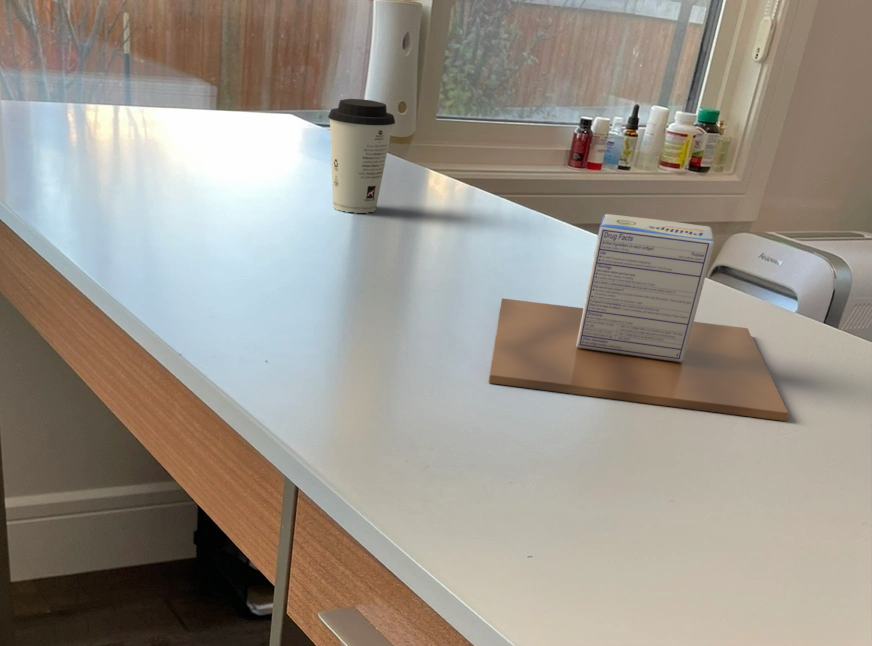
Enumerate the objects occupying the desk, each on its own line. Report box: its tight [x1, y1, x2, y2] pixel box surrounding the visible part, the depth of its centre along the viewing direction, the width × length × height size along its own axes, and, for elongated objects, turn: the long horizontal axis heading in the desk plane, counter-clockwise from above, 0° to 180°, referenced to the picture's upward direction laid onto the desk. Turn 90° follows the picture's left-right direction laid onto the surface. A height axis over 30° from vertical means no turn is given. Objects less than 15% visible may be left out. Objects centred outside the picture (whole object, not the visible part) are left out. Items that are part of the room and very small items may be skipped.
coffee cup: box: [327, 98, 396, 214], centre depth 116 cm, size 7×7×10 cm
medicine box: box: [576, 213, 715, 362], centre depth 81 cm, size 8×4×9 cm, turn 76°
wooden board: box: [488, 298, 789, 422], centre depth 83 cm, size 20×20×1 cm
